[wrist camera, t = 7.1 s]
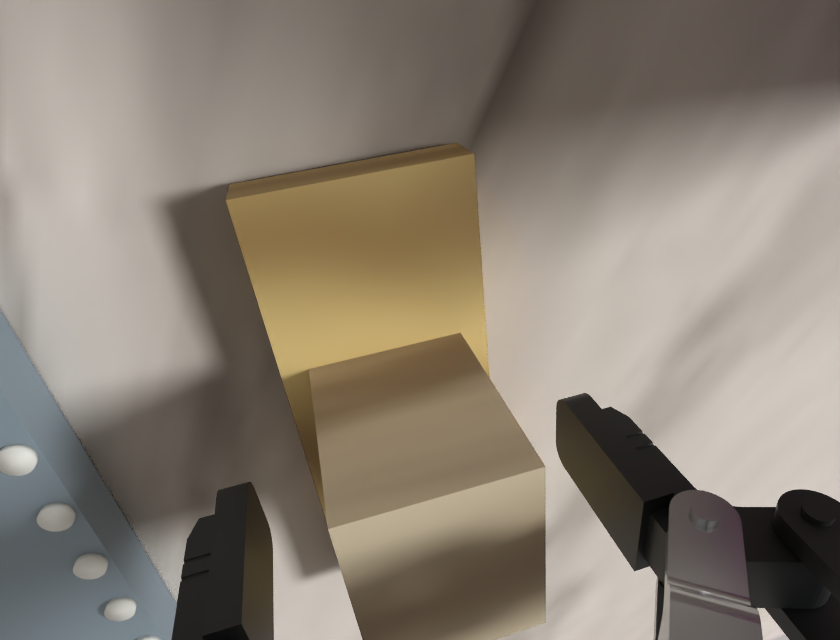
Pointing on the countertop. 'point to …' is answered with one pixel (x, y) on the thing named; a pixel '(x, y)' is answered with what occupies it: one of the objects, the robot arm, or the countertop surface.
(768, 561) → the robot arm
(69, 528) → the board
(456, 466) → the gold stepped piece
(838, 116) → the countertop surface
